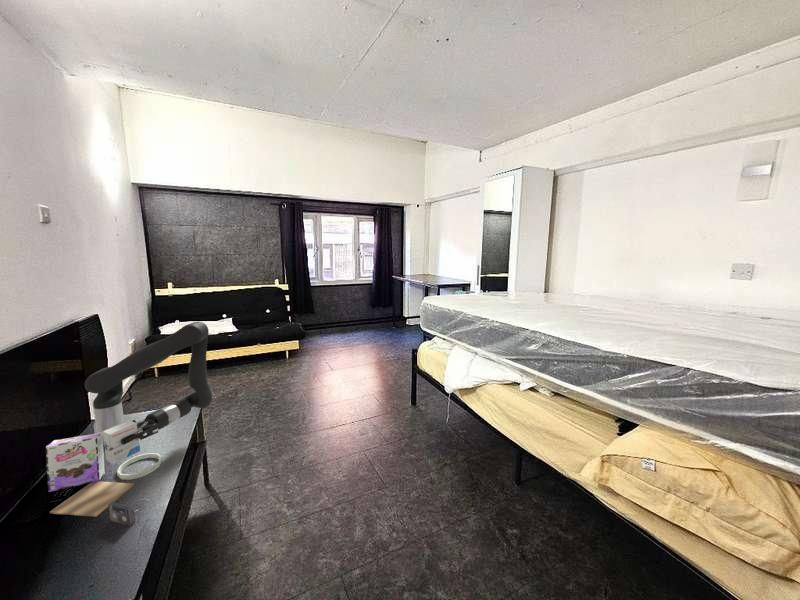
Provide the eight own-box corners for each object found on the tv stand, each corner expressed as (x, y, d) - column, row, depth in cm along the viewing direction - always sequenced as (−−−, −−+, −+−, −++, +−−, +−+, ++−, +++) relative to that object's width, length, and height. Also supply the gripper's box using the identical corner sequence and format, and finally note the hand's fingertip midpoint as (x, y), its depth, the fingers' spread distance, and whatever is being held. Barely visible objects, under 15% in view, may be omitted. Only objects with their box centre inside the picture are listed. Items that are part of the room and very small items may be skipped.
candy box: (47, 493, 110) (44, 446, 109) (56, 484, 115) (53, 439, 115) (99, 481, 116) (96, 437, 116) (105, 473, 121) (103, 431, 121)
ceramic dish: (108, 478, 119) (108, 474, 118) (139, 456, 132) (138, 452, 131) (141, 480, 118) (141, 476, 118) (169, 457, 131) (169, 453, 131)
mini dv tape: (135, 522, 100) (133, 506, 99) (130, 526, 99) (128, 509, 98) (115, 517, 102) (113, 500, 101) (110, 520, 100) (108, 504, 100)
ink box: (133, 447, 122) (130, 419, 120) (141, 451, 119) (137, 422, 118) (105, 460, 114) (101, 430, 112) (112, 465, 112) (108, 434, 110)
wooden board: (49, 513, 103) (49, 511, 102) (93, 482, 116) (93, 480, 116) (96, 516, 102) (96, 515, 102) (134, 485, 116) (134, 483, 115)
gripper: (150, 405, 131) (101, 427, 115) (175, 411, 127) (128, 435, 111) (151, 422, 133) (104, 445, 117) (177, 429, 128) (131, 454, 112)
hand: (116, 440), depth 114 cm, fingers closed on ink box, 5 cm apart
